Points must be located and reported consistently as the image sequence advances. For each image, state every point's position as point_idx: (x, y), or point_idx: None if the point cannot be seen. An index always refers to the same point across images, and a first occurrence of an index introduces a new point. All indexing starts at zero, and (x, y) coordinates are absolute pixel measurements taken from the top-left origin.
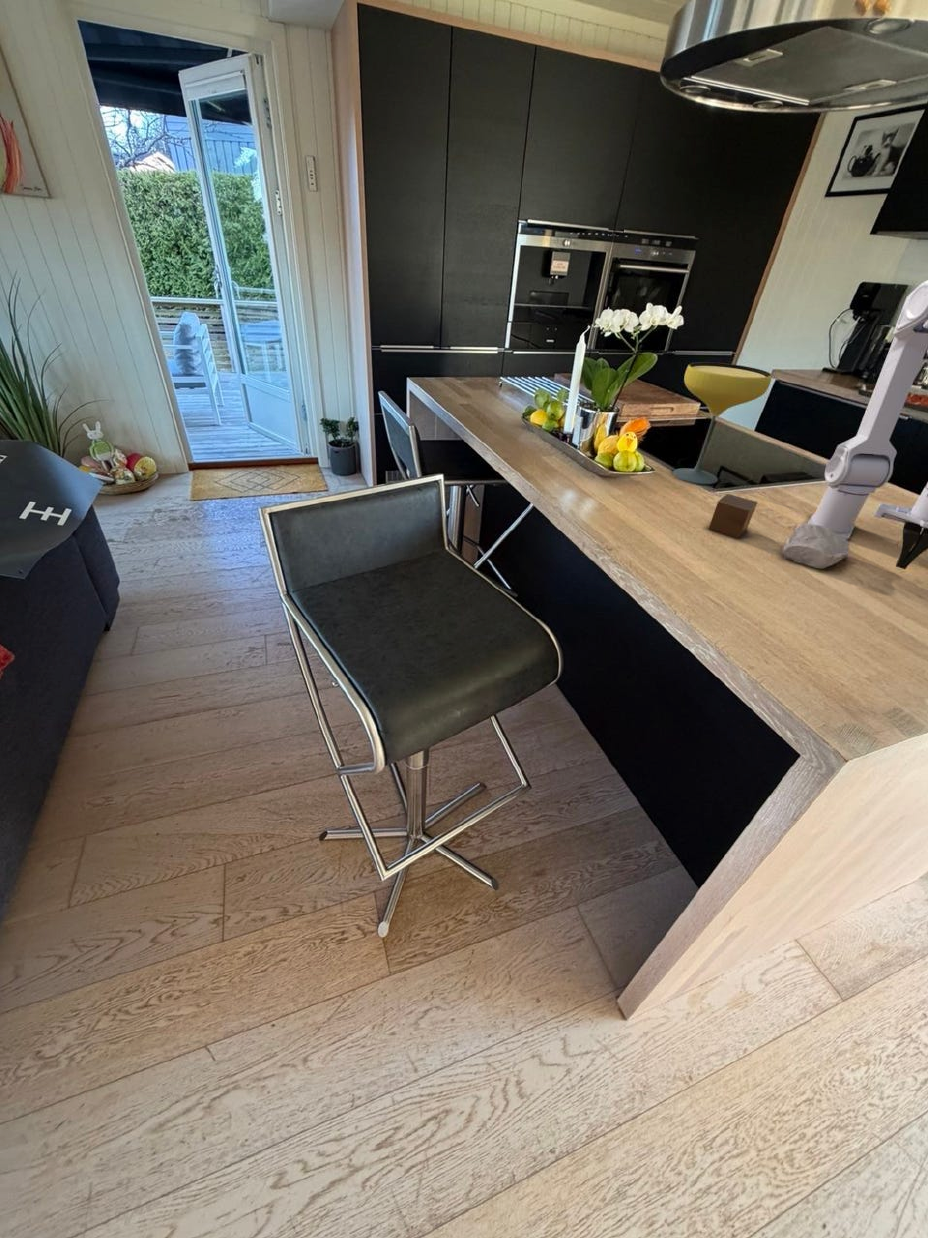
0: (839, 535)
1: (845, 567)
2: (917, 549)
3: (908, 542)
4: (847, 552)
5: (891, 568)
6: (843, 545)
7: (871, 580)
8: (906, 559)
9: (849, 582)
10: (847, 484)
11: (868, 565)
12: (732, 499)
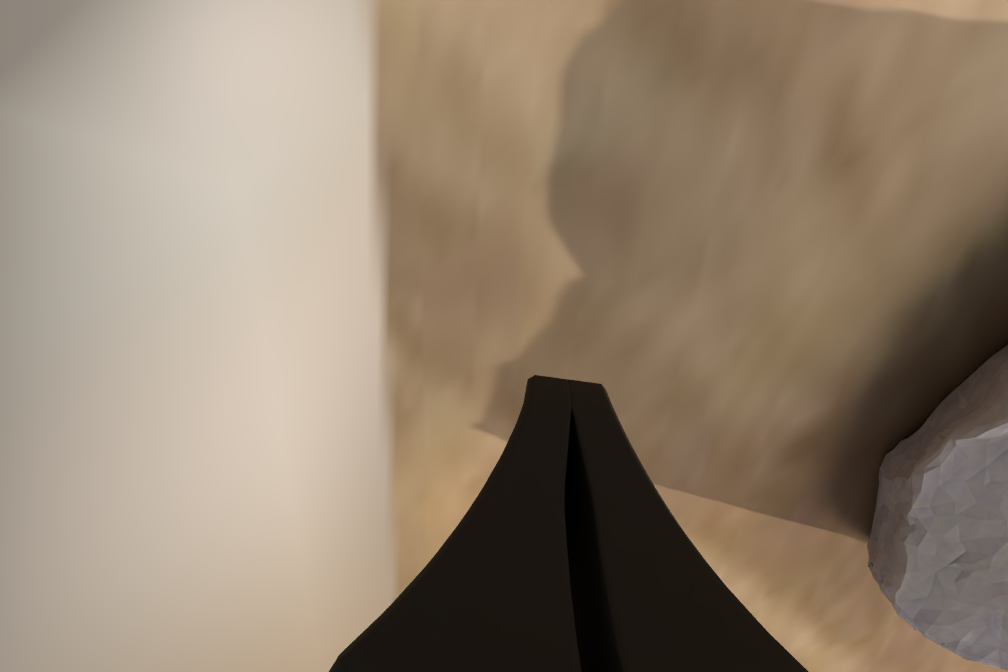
0: (988, 655)
1: (892, 350)
2: (535, 536)
3: (684, 603)
4: (935, 483)
5: None
6: (969, 552)
7: (725, 233)
8: (567, 440)
9: (972, 50)
10: None
11: (692, 466)
12: None
